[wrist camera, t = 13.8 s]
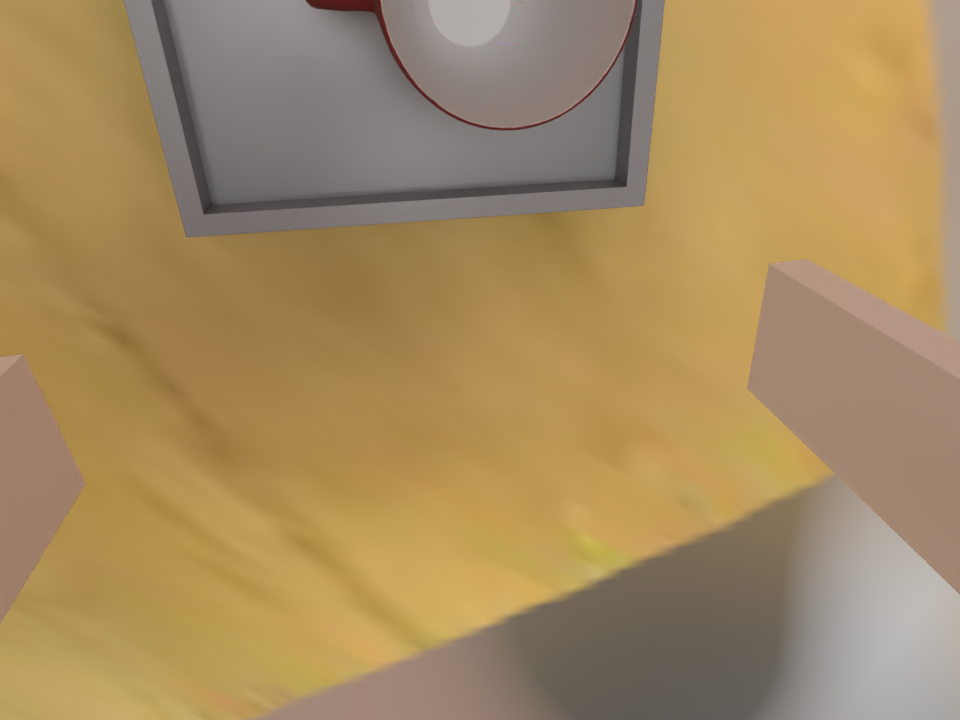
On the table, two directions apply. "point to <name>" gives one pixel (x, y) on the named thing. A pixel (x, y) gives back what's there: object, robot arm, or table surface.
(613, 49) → the mug
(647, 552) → the table surface
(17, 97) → the table surface
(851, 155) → the table surface
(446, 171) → the tray
